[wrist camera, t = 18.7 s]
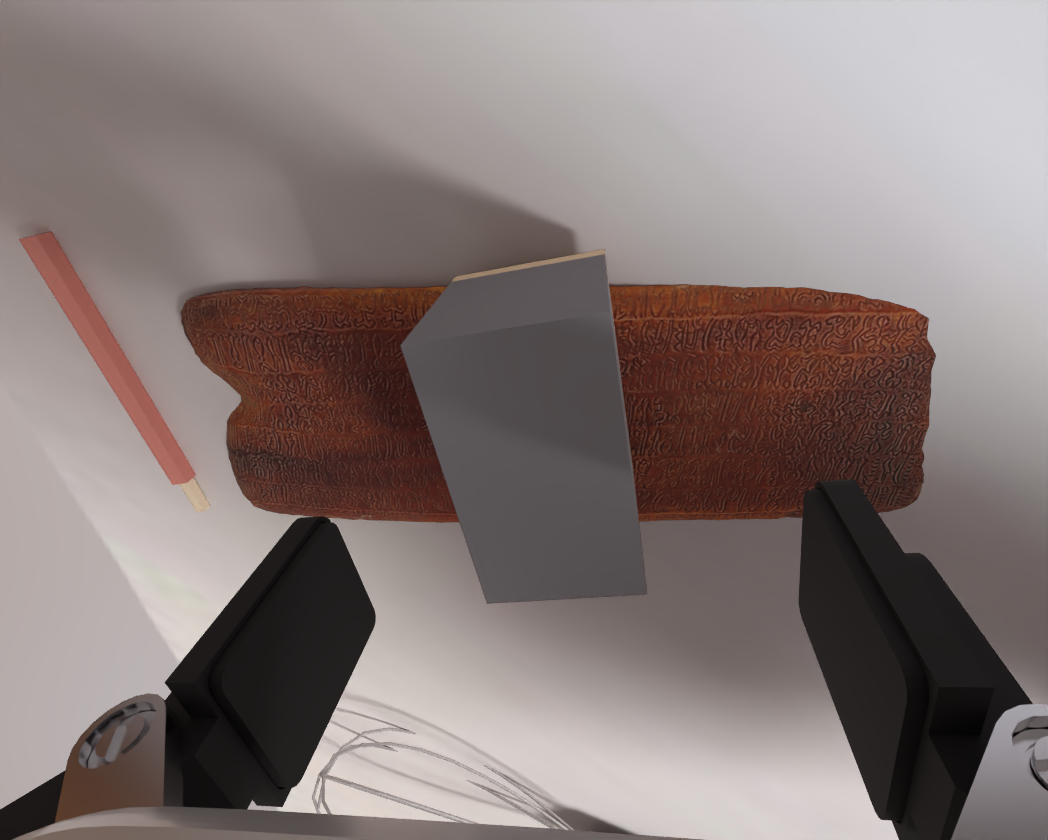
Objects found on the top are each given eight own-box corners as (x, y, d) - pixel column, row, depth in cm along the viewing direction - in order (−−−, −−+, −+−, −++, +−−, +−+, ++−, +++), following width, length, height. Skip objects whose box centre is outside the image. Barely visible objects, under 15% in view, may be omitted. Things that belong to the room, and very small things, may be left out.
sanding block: (604, 249, 15) (610, 311, 11) (633, 474, 19) (647, 594, 15) (455, 276, 16) (400, 345, 12) (511, 486, 20) (487, 603, 15)
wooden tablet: (261, 502, 24) (240, 527, 23) (181, 281, 19) (148, 294, 18) (898, 527, 21) (920, 558, 20) (998, 269, 16) (1038, 285, 15)
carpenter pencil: (54, 231, 18) (35, 235, 18) (215, 503, 24) (205, 513, 23) (38, 234, 18) (19, 239, 18) (201, 504, 24) (191, 514, 23)
